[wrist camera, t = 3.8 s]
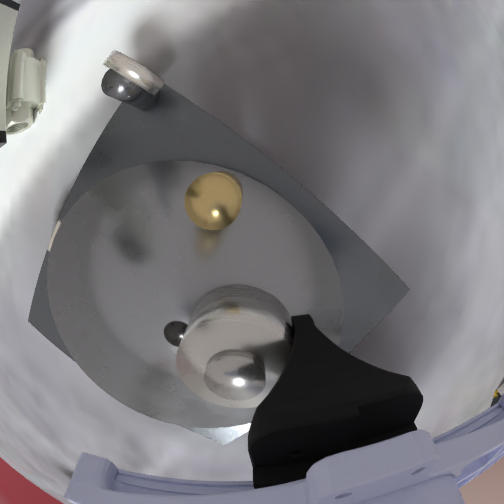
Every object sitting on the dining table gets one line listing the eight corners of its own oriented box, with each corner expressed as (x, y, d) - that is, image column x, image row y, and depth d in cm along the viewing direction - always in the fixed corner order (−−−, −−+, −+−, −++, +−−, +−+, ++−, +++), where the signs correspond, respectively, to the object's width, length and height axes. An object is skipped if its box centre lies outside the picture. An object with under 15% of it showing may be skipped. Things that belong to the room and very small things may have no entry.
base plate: (405, 285, 15) (409, 289, 15) (225, 439, 20) (225, 444, 19) (148, 75, 11) (144, 72, 11) (32, 317, 16) (28, 321, 15)
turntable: (392, 295, 14) (429, 334, 10) (222, 439, 18) (219, 481, 14) (141, 93, 11) (100, 70, 7) (34, 321, 15) (3, 352, 11)
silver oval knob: (178, 94, 11) (152, 70, 7) (157, 121, 12) (123, 108, 8) (138, 70, 11) (103, 43, 7) (119, 95, 11) (77, 78, 7)
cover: (313, 322, 13) (326, 372, 10) (251, 379, 14) (248, 429, 11) (228, 264, 12) (215, 304, 9) (174, 334, 14) (152, 381, 10)
